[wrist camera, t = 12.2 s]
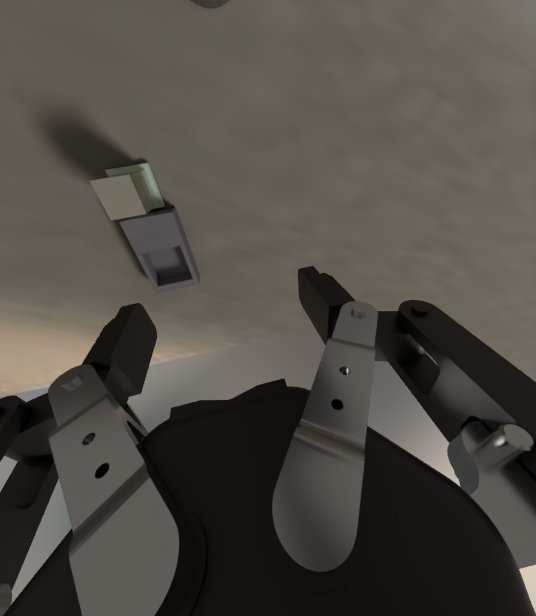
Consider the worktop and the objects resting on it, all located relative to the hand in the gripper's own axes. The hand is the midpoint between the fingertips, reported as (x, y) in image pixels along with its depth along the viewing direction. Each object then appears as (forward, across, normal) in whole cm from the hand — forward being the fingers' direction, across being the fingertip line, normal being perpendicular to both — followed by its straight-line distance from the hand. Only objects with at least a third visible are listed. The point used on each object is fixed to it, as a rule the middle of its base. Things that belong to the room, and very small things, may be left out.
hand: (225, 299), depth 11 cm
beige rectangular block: (+32, +11, -3) cm, 34 cm away
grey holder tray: (+32, +11, +7) cm, 35 cm away
